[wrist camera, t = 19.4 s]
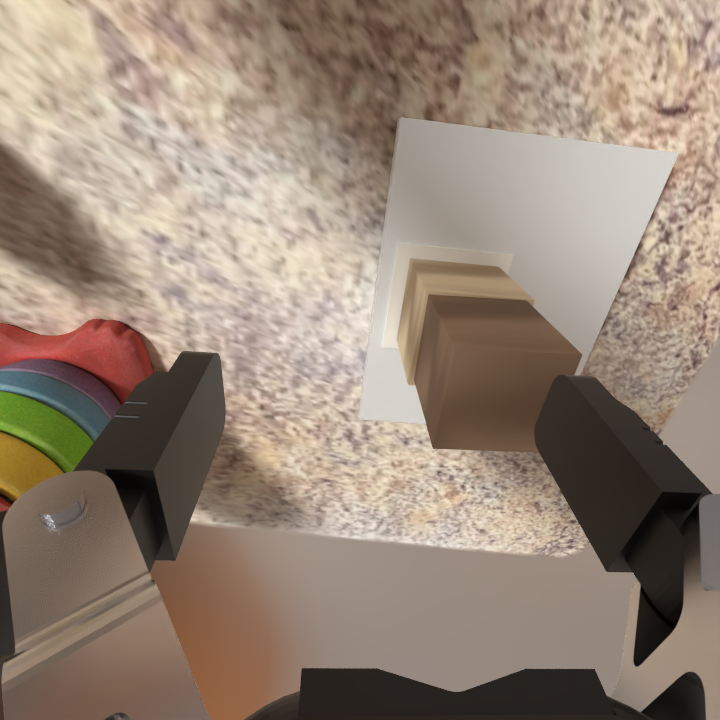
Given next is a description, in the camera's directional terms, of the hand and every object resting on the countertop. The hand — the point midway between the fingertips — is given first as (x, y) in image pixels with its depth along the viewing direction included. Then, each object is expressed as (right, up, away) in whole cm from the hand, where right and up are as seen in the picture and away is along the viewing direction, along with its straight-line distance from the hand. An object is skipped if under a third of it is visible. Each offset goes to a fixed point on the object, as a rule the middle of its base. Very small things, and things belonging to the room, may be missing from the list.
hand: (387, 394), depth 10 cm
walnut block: (+4, +2, +10) cm, 11 cm away
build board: (+7, +5, +15) cm, 18 cm away
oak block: (+4, +4, +14) cm, 15 cm away
